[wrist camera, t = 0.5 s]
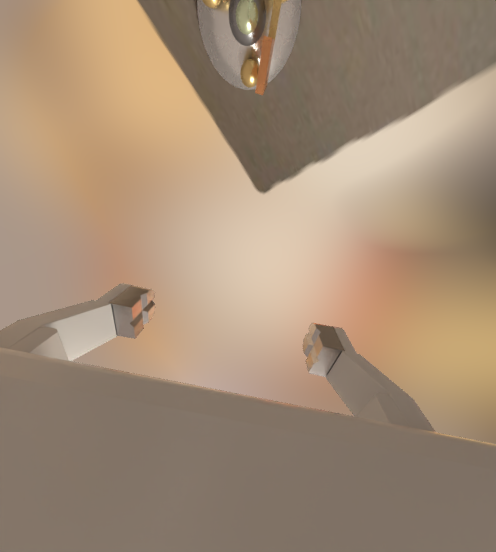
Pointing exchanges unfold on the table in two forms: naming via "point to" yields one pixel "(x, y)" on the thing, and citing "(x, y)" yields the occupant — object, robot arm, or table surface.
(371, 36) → the table surface
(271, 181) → the table surface
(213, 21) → the levelling base
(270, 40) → the vane knob
